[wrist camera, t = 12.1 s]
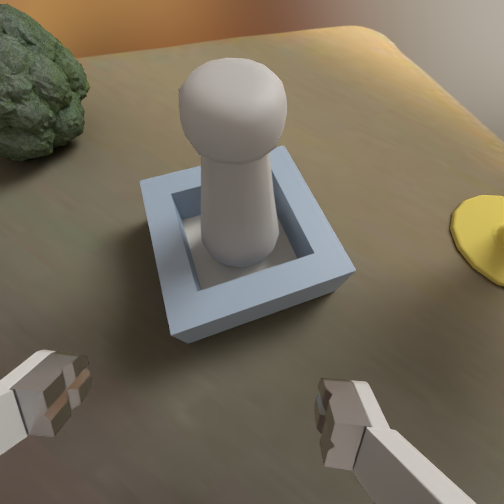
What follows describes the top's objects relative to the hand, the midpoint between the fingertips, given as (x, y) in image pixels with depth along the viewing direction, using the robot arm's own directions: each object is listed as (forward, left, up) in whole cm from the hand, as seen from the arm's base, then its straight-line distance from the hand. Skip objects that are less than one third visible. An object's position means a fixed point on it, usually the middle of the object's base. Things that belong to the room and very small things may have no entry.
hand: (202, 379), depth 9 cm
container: (+4, +9, -9) cm, 14 cm away
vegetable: (-12, +30, -10) cm, 34 cm away
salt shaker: (+4, +9, -9) cm, 13 cm away
